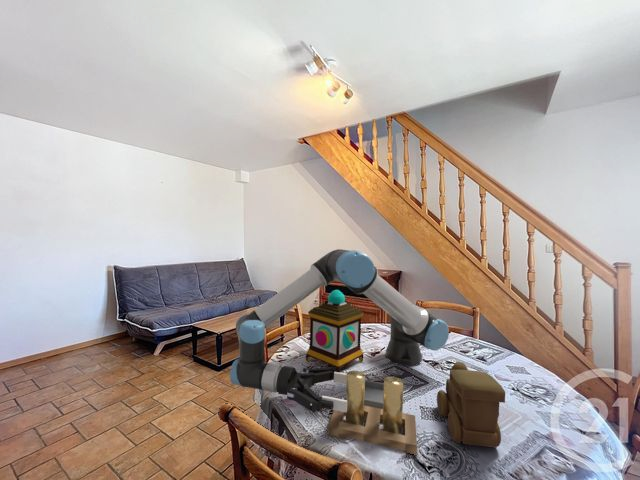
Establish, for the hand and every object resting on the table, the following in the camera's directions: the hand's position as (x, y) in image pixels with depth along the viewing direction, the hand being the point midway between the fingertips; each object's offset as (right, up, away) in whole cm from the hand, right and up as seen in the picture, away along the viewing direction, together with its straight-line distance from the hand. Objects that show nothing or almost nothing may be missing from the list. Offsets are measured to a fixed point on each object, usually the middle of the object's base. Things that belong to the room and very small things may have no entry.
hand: (351, 392), depth 77 cm
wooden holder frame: (+6, -9, -1) cm, 11 cm away
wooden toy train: (+31, -10, 0) cm, 33 cm away
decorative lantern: (-3, -9, +40) cm, 41 cm away
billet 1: (+1, -9, 0) cm, 9 cm away
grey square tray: (+10, -9, +13) cm, 19 cm away
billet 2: (+10, -10, -3) cm, 14 cm away
